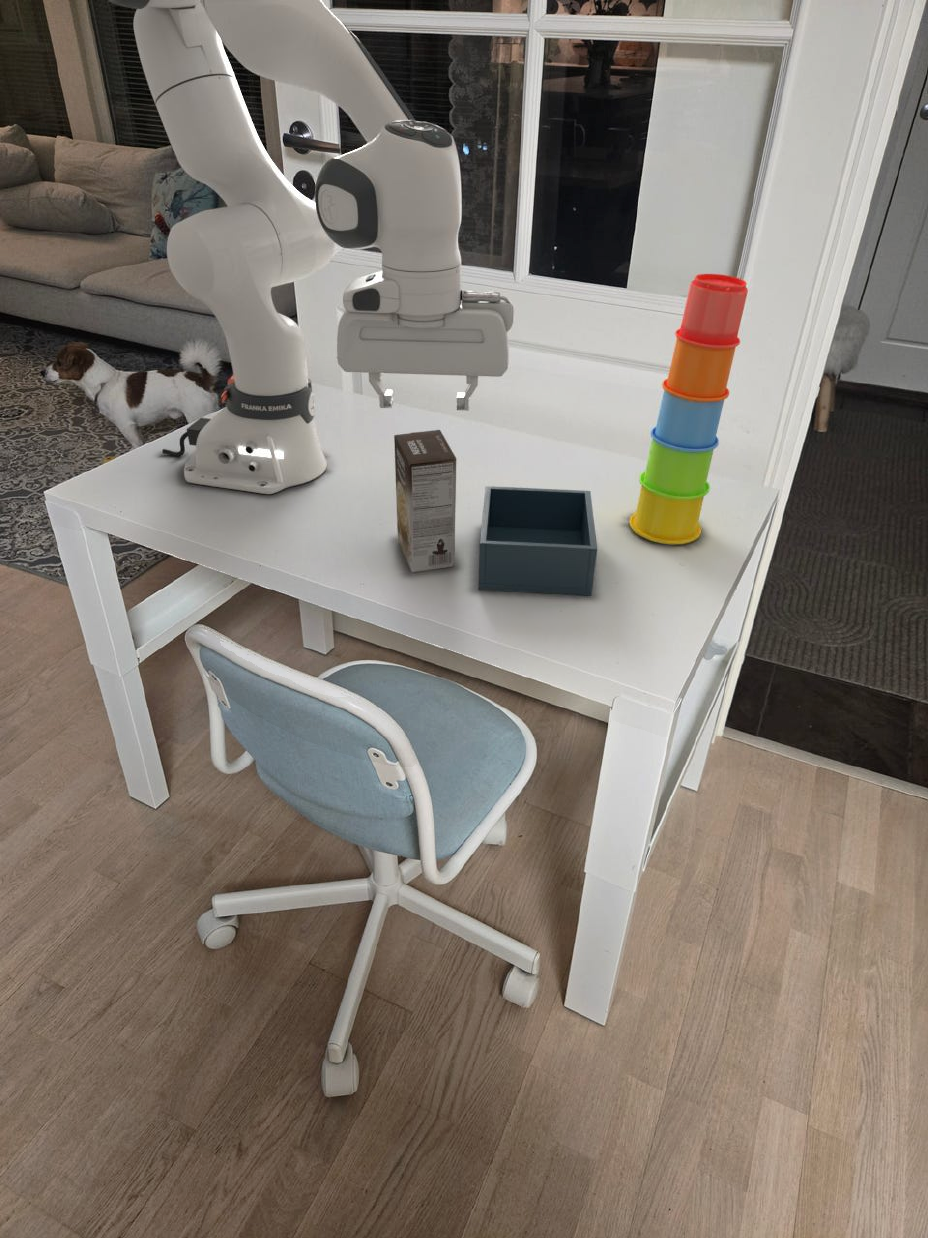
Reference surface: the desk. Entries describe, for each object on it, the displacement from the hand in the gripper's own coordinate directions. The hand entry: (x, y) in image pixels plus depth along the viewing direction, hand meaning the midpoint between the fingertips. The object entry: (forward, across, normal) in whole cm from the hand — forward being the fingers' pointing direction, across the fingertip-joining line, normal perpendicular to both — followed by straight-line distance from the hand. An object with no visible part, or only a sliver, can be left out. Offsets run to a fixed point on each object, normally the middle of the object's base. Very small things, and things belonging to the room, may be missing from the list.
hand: (424, 407), depth 100 cm
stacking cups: (+22, -34, -10) cm, 41 cm away
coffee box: (+21, 0, 0) cm, 21 cm away
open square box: (+21, -15, 0) cm, 26 cm away
